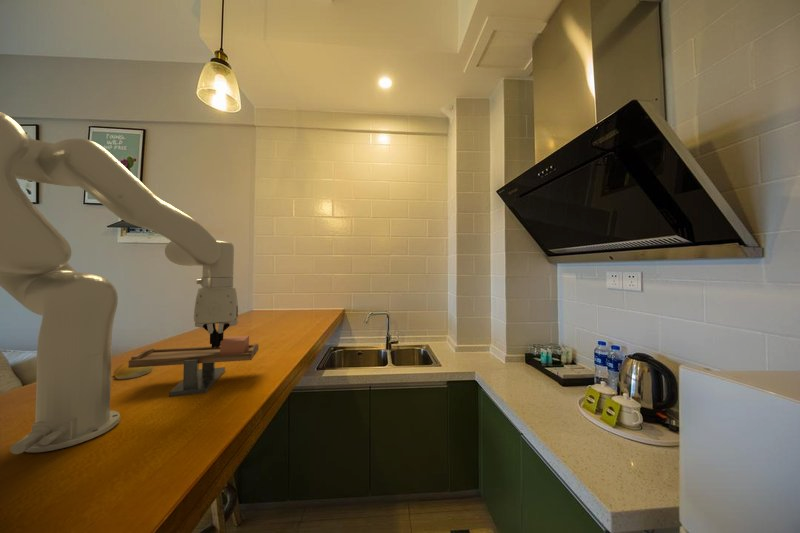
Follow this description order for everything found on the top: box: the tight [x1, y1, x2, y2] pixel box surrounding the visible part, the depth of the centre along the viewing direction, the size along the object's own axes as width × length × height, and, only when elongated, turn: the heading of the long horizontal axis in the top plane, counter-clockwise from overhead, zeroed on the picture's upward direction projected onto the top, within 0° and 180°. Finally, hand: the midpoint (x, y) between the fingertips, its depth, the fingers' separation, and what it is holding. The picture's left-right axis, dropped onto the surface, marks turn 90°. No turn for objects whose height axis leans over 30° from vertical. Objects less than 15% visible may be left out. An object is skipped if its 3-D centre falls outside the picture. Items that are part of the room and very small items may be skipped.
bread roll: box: [113, 360, 153, 380], centre depth 84 cm, size 8×9×4 cm
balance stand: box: [168, 345, 226, 398], centre depth 78 cm, size 16×8×8 cm, turn 17°
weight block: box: [220, 335, 250, 355], centre depth 81 cm, size 6×6×4 cm
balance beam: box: [128, 342, 259, 368], centre depth 78 cm, size 11×28×3 cm, turn 107°
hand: (216, 346), depth 80 cm, fingers closed
